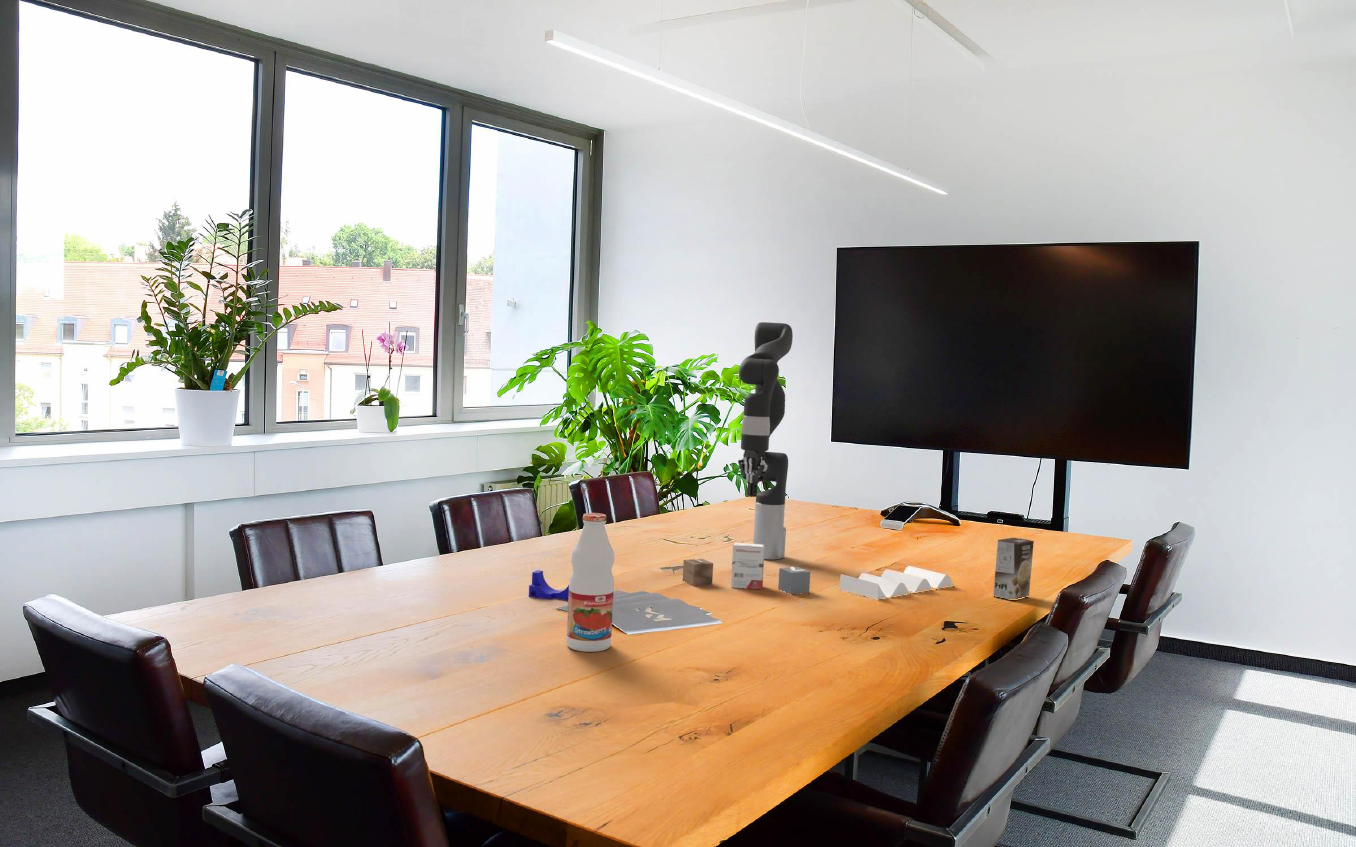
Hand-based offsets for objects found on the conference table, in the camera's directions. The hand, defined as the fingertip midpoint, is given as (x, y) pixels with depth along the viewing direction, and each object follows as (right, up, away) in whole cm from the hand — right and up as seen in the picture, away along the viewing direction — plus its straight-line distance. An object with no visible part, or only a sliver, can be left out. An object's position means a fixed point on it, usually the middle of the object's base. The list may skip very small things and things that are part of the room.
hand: (751, 496), depth 268 cm
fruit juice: (-39, -27, -60) cm, 76 cm away
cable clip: (-51, -24, -21) cm, 60 cm away
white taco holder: (+42, -27, +10) cm, 51 cm away
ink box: (-1, -25, +2) cm, 25 cm away
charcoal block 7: (+11, -26, -1) cm, 28 cm away
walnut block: (-15, -24, +4) cm, 28 cm away
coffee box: (+72, -29, +6) cm, 78 cm away
